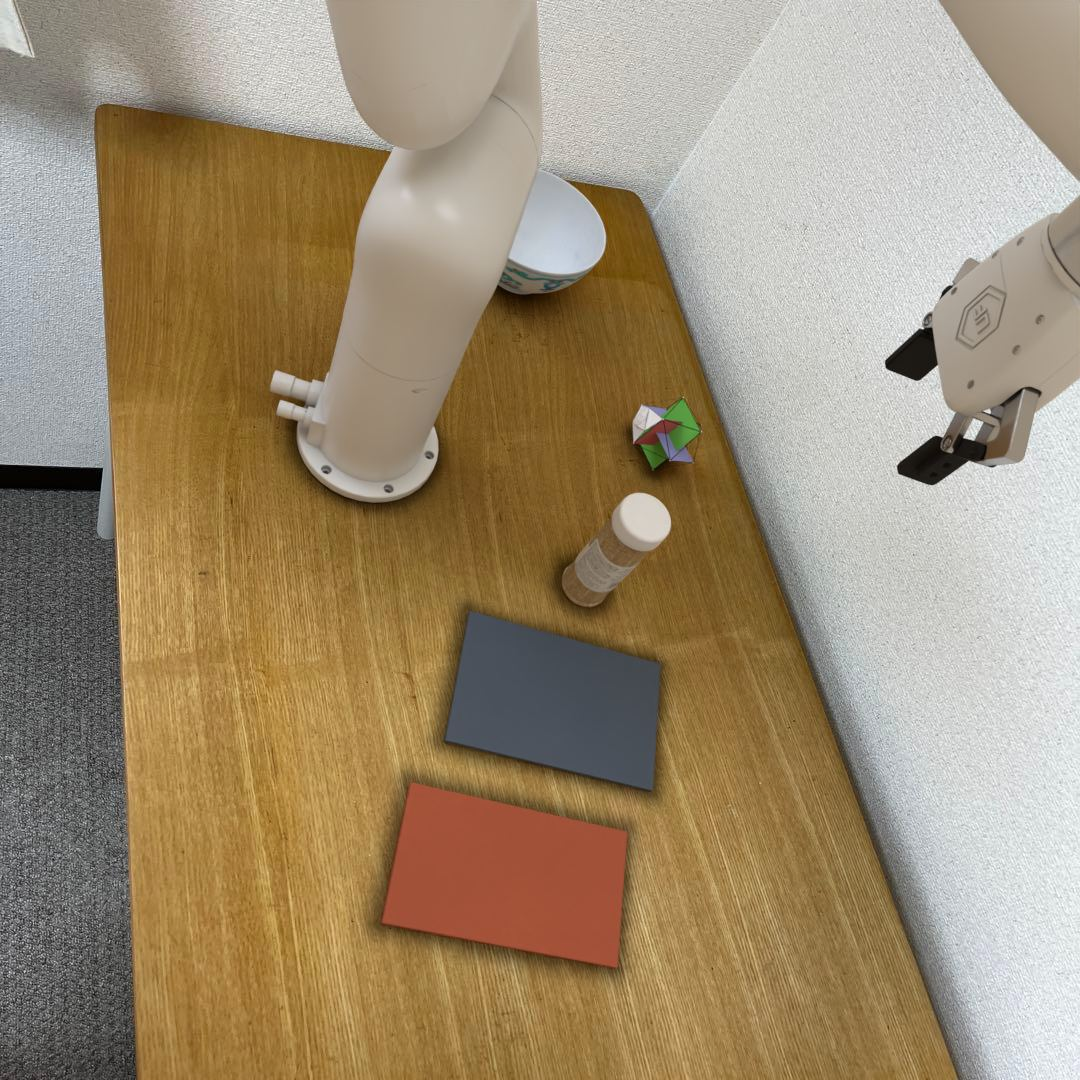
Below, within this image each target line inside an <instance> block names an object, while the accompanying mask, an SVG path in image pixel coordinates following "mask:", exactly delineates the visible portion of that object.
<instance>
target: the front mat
mask: <svg viewBox="0 0 1080 1080" xmlns="http://www.w3.org/2000/svg"><path fill="white" fill-rule="evenodd" d="M402 813H403V814H402V819H401V822H400V829H399V834H398V838H397V843H396V848H395V852H394V856H393V863H392V866H391V871H390V877H389V882H388V887H387V891H386V896H385V901H384V906H383V911H382V916H381V920H380V924H381V925H385V926H390V927H394V928H400V929H406V930H410V931H416V932H422V933H426V934H431V935H437V936H443V937H447V938H453V939H458V940H463V941H468V942H473V943H478V944H484V945H488V946H489V945H490V946H495V947H500V948H504V949H505V948H506V949H510V950H516V951H521V952H526V953H532V954H536V955H542V956H546V957H553V958H557V959H563V960H567V961H568V960H569V961H573V962H577V963H578V962H579V963H583V964H584V963H585V964H590V965H594V966H600V967H604V968H611V969H617V968H618V966H619V955H620V954H619V953H620V952H619V951H620V941H621V940H620V939H621V927H622V926H621V925H622V913H623V912H622V911H623V898H624V884H625V874H626V873H625V871H626V860H627V859H626V857H627V845H628V844H627V843H628V831H626V830H621V829H617V828H612V827H609V826H604V825H601V824H600V825H599V824H595V823H590V822H587V821H582V820H579V819H573V818H570V817H564V816H560V815H556V814H551V813H549V812H548V813H547V812H543V811H539V810H534V809H530V808H525V807H522V806H517V805H513V804H509V803H504V802H499V801H495V800H492V799H487V798H482V797H478V796H473V795H469V794H465V793H460V792H456V791H453V790H452V791H451V790H447V789H442V788H438V787H434V786H430V785H426V784H422V783H417V782H410V783H409V784H408V789H407V795H406V798H405V803H404V809H403V812H402Z"/></svg>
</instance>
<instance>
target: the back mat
mask: <svg viewBox="0 0 1080 1080" xmlns="http://www.w3.org/2000/svg"><path fill="white" fill-rule="evenodd" d="M661 664H662V663H658V662H655V661H653V660H647V659H644V658H640V657H637V656H634V655H630V654H628V653H627V654H626V653H623V652H619V651H615V650H612V649H609V648H604V647H601V646H598V645H595V644H591V643H587V642H583V641H579V640H576V639H573V638H569V637H566V636H562V635H558V634H555V633H551V632H547V631H545V630H540V629H537V628H534V627H530V626H526V625H523V624H519V623H516V622H512V621H509V620H506V619H505V620H504V619H501V618H498V617H494V616H491V615H487V614H483V613H479V612H477V611H473V610H469V612H468V613H467V617H466V623H465V630H464V634H463V639H462V645H461V650H460V654H459V660H458V664H457V670H456V676H455V681H454V686H453V691H452V695H451V696H452V697H451V701H450V707H449V713H448V717H447V723H446V729H445V733H444V738H443V742H444V743H445V744H450V745H454V746H457V747H462V748H465V749H470V750H474V751H478V752H483V753H486V754H490V755H494V756H498V757H503V758H507V759H510V760H515V761H520V762H524V763H528V764H531V765H535V766H541V767H544V768H549V769H552V770H557V771H560V772H565V773H569V774H573V775H577V776H581V777H585V778H590V779H594V780H598V781H601V782H606V783H610V784H614V785H617V786H623V787H627V788H631V789H634V790H639V791H643V792H647V793H651V792H653V791H654V779H655V764H656V763H655V762H656V751H657V749H656V748H657V747H656V746H657V734H658V733H657V732H658V716H659V715H658V714H659V701H660V700H659V697H660V682H661V667H662V666H661Z"/></svg>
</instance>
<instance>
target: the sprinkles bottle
mask: <svg viewBox="0 0 1080 1080" xmlns="http://www.w3.org/2000/svg"><path fill="white" fill-rule="evenodd" d="M671 529H672V520H671V515H670V512H669V510H668V509H667V507H666V505H664V503H662V501H660V500H659V499H658V498H657V497H655V496H653V495H652V494H648V493H645V492H634V493H630V494H628V495H626V496H625V497H624V498H623V499H622V500H621V501H620V503H619V504H618V505H617V506H616V507H615V509H614V510H613V512H612V514H611V517H610V518H608V520H607V521H606V522H605V523H604V525H603V526H602V527H601V528H600V529H599V530H598V531H597V533H596V534H594V536H593V537H592V538H591V539H590V540H589V541H588V542H587V543H586V545H585V546H584V547H583V548H582V549H581V551H579V553H578V554H577V556H576V558H575V559H574V560H573V561H572V562H571V564H568V565H567V567H566V568H564V570H563V573H562V575H561V587H562V591H563V592H564V594H565V596H566V597H567V598H568V599H569V600H570V601H571V602H572V603H573V604H575V605H577V606H580V607H584V608H593V607H597V606H598V605H600V604H602V602H603V601H604V600H605V599H606V597H607V596H608V594H609V593H610V592H611V591H613V590H614V589H616V588H617V587H618V585H619V584H620V583H622V582H623V580H625V578H626V577H627V576H628V575H630V573H631V572H632V571H633V570H634V569H635V568H636V567H637V566H638V565H639V564H640V563H642V560H643V559H644V558H645V557H646V556H647V555H648V554H649V553H650V552H651V551H653V550H654V549H656V548H657V547H659V546H660V545H661V543H663V541H664V540H665V539H666V538H667V537H668V536H669V534H670V532H671Z"/></svg>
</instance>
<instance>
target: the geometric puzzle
mask: <svg viewBox="0 0 1080 1080" xmlns="http://www.w3.org/2000/svg"><path fill="white" fill-rule="evenodd" d="M677 399H678V400H677ZM671 400H673V398H672V399H670V401H671ZM666 401H668V399H666V400H665V402H666ZM654 403H655V404H656V403H657V401H656V402H655V401H654V402H653V404H654ZM659 403H662V400H661V401H659ZM650 404H651V403H650V402H649V403H648V404H645V403H644V404H643V403H641V404H640V407H639V409H638V411H637V412H636V414H635V416H634V418H633V420H632V422H631V424H632V425H631V426H632V444H633V445H634V446H635V448H636V449H637V450H638V452H639V453H640V454H641V456H642V457H643V458H644V459H645V461H647V464H648V465H649V466H650V468H651V470H652V471H655V470H658V469H659V470H660V469H661V466H663V465H665V464H667V463H669V462H677V463H682V464H681V466H685V463H686V464H687V465H690V464H693V465H694V464H695V459H696V455H697V453H698V452H697V451H698V447H699V443H700V441H697V443H696V448H695V452H694V458H692V457H691V455H690V453H689V451H688V448H686V447H687V446H688V445H689V444H691V442H693V441H694V440H695V439H696V438H697V437H698V438H697V440H700V439H701V437H700V436H701V435H702V433H703V431H702V426H703V424H701V422H700V421H699V419H698V418H697V416H696V415H695V413H694V412H693V410H692V409H691V407H690V405H689V404H688V403H687V401H686V399H685V396H682V397H680V398H678V397H677V398H676V401H675V402H674V403H672V404H670V405H668V406H667V407H658V406H652V405H650ZM695 418H696V419H695ZM697 421H698V422H697ZM638 447H639V448H641V449H642V451H643V453H644V454H645V456H644V455H643V454H642V453H641V451H640V450H639V448H638ZM645 457H646V458H645ZM646 459H647V460H646ZM666 460H667V461H666ZM665 461H666V462H665ZM677 466H679V464H677V465H676V464H675V467H677ZM671 467H673V465H670V466H669V468H671ZM666 468H667V466H664V467H662V469H666Z"/></svg>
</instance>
